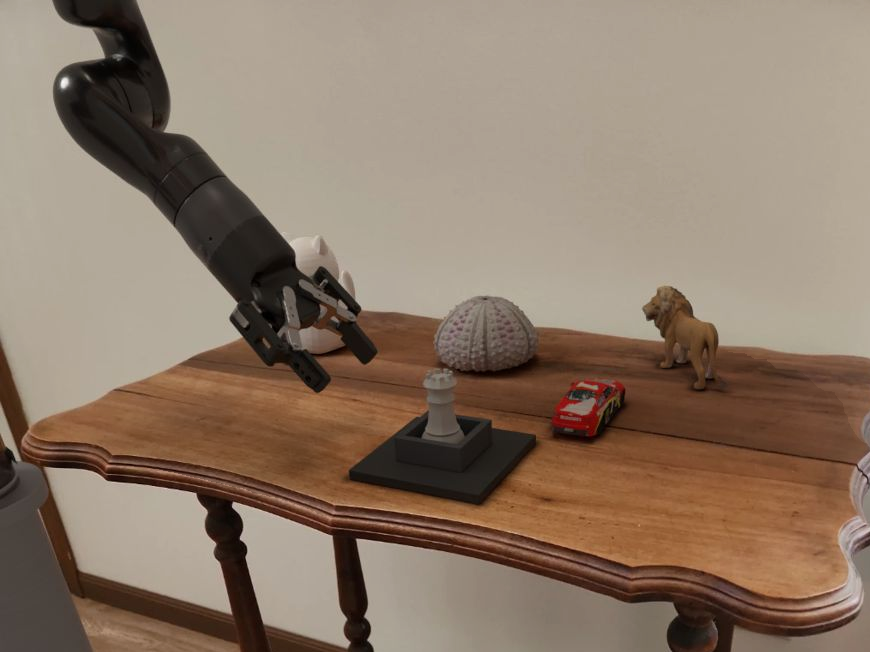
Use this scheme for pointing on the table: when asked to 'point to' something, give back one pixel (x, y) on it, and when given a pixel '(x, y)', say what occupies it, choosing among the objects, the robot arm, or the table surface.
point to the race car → (588, 407)
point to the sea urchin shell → (485, 335)
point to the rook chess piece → (441, 408)
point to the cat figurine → (308, 261)
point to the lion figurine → (683, 332)
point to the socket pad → (445, 460)
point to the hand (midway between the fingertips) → (349, 372)
